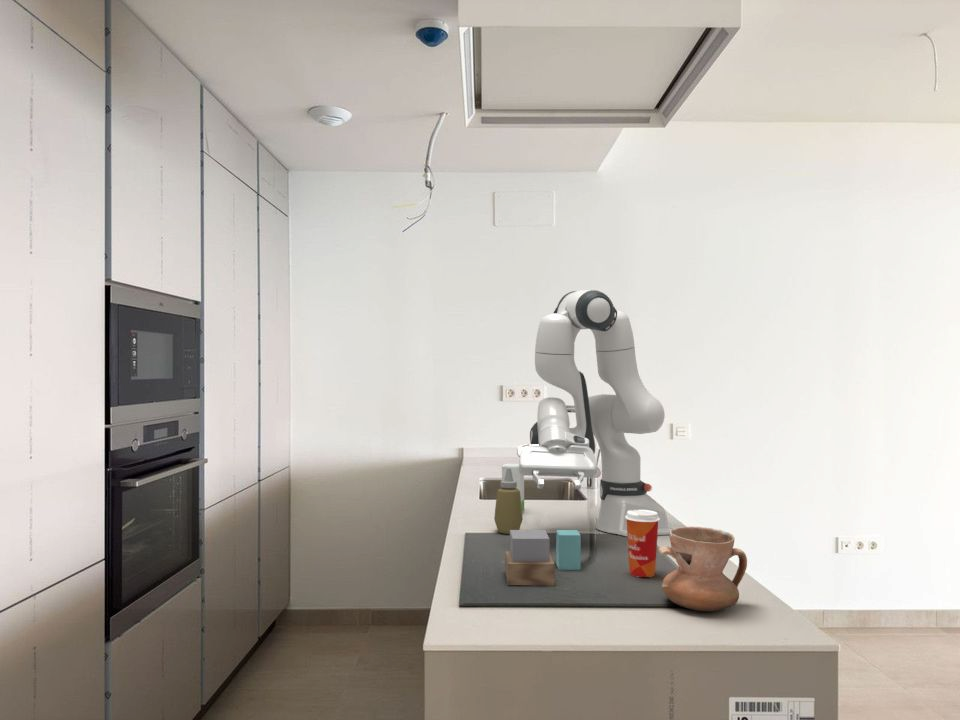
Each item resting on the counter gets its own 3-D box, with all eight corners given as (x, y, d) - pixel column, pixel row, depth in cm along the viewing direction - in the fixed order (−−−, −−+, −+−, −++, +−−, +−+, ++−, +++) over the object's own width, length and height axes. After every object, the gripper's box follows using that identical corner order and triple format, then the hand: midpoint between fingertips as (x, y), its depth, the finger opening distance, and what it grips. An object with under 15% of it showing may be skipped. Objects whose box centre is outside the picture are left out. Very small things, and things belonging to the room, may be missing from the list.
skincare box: (521, 516, 217) (521, 466, 217) (500, 515, 218) (500, 465, 218) (524, 510, 225) (525, 463, 225) (504, 509, 226) (505, 462, 226)
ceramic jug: (669, 618, 128) (671, 542, 129) (646, 592, 143) (648, 523, 143) (763, 619, 129) (765, 543, 129) (731, 593, 144) (733, 525, 144)
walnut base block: (548, 573, 157) (548, 551, 157) (554, 587, 147) (554, 563, 148) (505, 573, 157) (505, 551, 157) (507, 587, 147) (508, 563, 147)
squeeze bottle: (507, 536, 190) (508, 471, 190) (488, 531, 196) (488, 468, 196) (528, 532, 195) (528, 469, 195) (508, 527, 201) (509, 465, 201)
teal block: (576, 563, 164) (577, 530, 164) (580, 569, 159) (580, 535, 159) (556, 563, 164) (556, 530, 164) (558, 569, 159) (559, 535, 159)
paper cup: (618, 571, 158) (618, 510, 158) (645, 567, 161) (645, 507, 161) (638, 581, 151) (639, 517, 151) (667, 577, 154) (667, 514, 154)
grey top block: (544, 551, 157) (544, 529, 157) (549, 561, 149) (549, 538, 149) (509, 551, 157) (509, 530, 157) (512, 561, 149) (512, 538, 149)
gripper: (517, 436, 182) (519, 478, 172) (594, 439, 182) (600, 481, 172) (515, 451, 186) (517, 493, 176) (591, 454, 186) (597, 496, 176)
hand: (559, 487), depth 174 cm, fingers open, 8 cm apart
